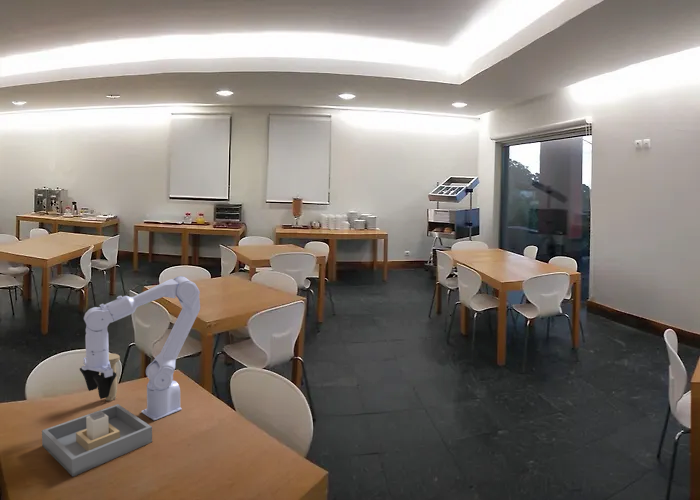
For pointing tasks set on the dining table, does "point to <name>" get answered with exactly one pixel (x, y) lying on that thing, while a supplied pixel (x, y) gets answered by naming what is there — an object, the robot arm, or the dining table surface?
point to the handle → (113, 359)
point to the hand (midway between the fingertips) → (98, 393)
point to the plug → (97, 425)
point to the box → (95, 440)
